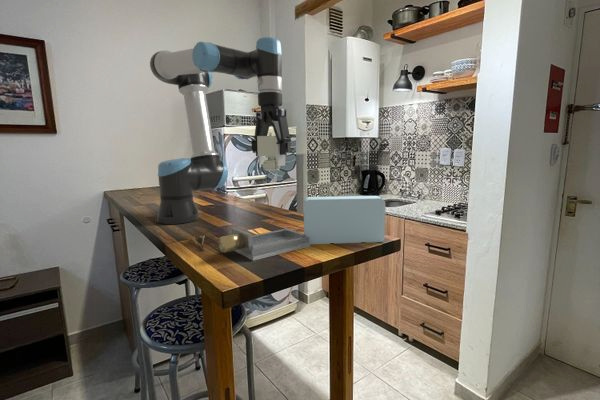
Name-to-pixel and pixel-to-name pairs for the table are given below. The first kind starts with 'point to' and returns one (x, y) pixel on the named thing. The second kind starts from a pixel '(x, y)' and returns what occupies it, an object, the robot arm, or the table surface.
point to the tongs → (198, 243)
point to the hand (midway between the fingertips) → (271, 165)
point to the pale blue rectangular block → (344, 219)
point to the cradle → (263, 243)
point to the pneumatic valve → (268, 150)
